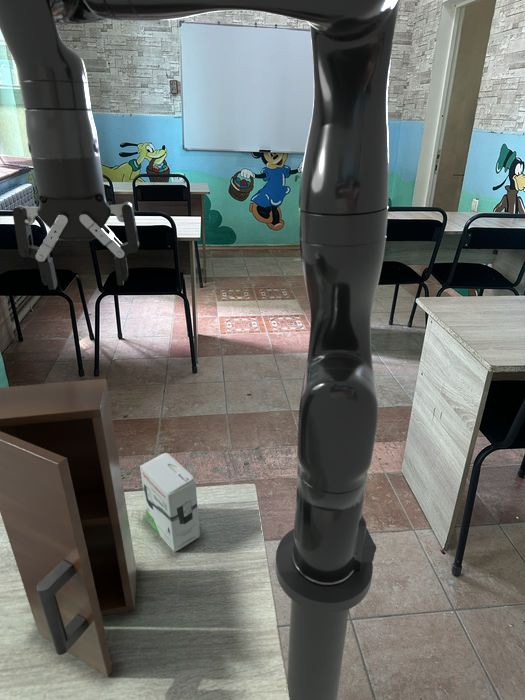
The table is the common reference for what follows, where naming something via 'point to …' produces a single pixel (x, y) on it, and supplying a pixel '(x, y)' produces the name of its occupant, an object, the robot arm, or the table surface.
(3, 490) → the cabinet door
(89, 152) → the robot arm
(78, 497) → the cabinet
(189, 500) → the ink box
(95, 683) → the table surface
